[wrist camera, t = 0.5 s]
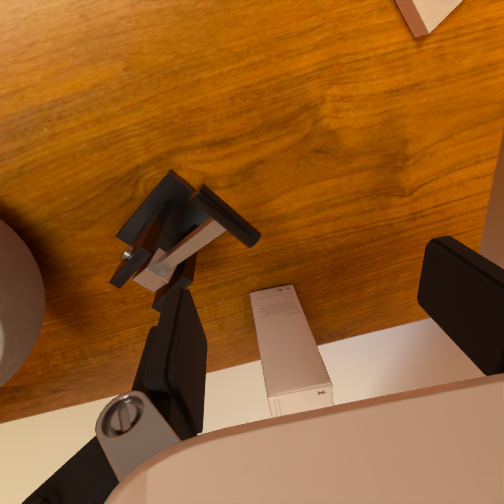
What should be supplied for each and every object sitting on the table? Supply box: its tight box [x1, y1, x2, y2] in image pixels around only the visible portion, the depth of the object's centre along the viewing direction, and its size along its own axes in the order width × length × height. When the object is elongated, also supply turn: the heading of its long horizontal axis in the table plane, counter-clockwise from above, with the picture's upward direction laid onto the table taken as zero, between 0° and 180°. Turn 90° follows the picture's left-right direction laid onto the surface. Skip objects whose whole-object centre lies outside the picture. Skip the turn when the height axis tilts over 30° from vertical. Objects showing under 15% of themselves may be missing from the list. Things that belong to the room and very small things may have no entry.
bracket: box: [109, 170, 210, 313], centre depth 28 cm, size 10×8×12 cm
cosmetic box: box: [250, 285, 334, 418], centre depth 34 cm, size 8×7×16 cm
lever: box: [132, 184, 261, 292], centre depth 22 cm, size 12×5×2 cm, turn 136°
